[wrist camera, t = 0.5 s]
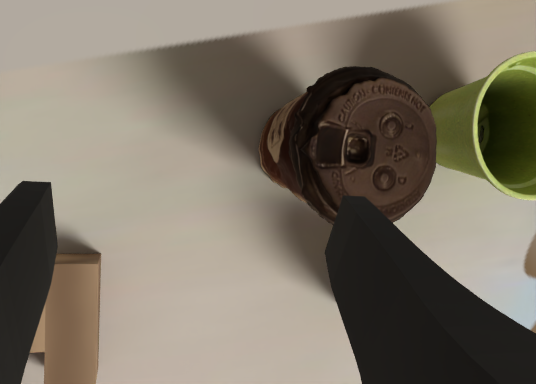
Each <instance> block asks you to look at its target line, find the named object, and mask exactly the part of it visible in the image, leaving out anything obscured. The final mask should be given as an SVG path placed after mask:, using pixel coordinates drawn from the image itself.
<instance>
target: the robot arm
mask: <svg viewBox="0 0 536 384" xmlns="http://www.w3.org/2000/svg"><path fill="white" fill-rule="evenodd" d="M57 247H58V245H57V236H56V227H55V217H54V208H53V199H52V189H51V182H32V181H22V182H21V183H20V184H18V185H17V186H16V188H15V189H14V190H13V191H12V192H11V193H10V194H9V195H8V196H7V197H6V198H5V199H4V200H3V201H2V203H1V204H0V384H21V381H22V377H23V373H24V369H25V366H26V363H27V360H28V356H29V353H30V350H31V347H32V344H33V341H34V337H35V334H36V331H37V328H38V325H39V322H40V318H41V315H42V312H43V309H44V306H45V302H46V299H47V296H48V293H49V289H50V286H51V282H52V276H53V271H54V265H55V259H56V253H57ZM325 255H326V261H327V267H328V272H329V277H330V282H331V287H332V290H333V293H334V296H335V299H336V302H337V305H338V308H339V311H340V314H341V317H342V320H343V323H344V326H345V329H346V332H347V335H348V338H349V341H350V344H351V347H352V350H353V353H354V356H355V359H356V362H357V365H358V369H359V372H360V376H361V381H362V384H536V333H534V332H532V331H531V330H529V329H527V328H525V327H524V326H522V325H520V324H519V323H517V322H515V321H514V320H512V319H511V318H509V317H508V316H506V315H504V314H503V313H501V312H500V311H498V310H496V309H495V308H493V307H492V306H491V305H489V304H488V303H486V302H485V301H483V300H482V299H480V298H479V297H478V296H476V295H475V294H474V293H472V292H471V291H470V290H468V289H467V288H465V287H464V286H463V285H461V284H460V283H459V282H458V281H456V280H455V279H454V278H452V277H451V276H450V275H449V274H448V273H446V272H445V271H444V270H443V269H442V268H441V267H439V266H438V265H437V264H436V263H435V262H433V261H432V260H431V259H430V258H429V257H428V256H427V255H426V254H424V253H423V252H422V251H421V250H420V249H419V248H418V247H417V246H416V245H415V244H414V243H413V242H412V241H410V240H409V239H408V238H407V237H406V236H405V235H404V234H403V233H402V232H401V231H400V230H399V229H398V228H397V227H396V226H395V225H394V224H393V223H392V222H391V221H390V220H389V219H388V218H387V217H386V216H385V215H384V214H383V213H382V212H381V211H380V210H379V209H378V208H377V207H376V206H375V205H374V204H373V203H371V202H370V201H369V200H368V199H367V198H366V197H365V196H344V195H343V197H342V200H341V203H340V206H339V209H338V212H337V216H336V219H335V222H334V225H333V228H332V231H331V234H330V238H329V241H328V244H327V247H326V250H325Z"/></svg>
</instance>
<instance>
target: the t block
mask: <svg viewBox="0 0 536 384" xmlns="http://www.w3.org/2000/svg"><path fill="white" fill-rule="evenodd" d="M100 274H101V254H56V259H55V265H54V271H53V276H52V282H51V286H50V289H49V293H48V296H47V299H46V302H45V306H44V309H43V312H42V315H41V318H40V322H39V325H38V328H37V331H36V334H35V337H34V341H33V344H32V347H31V350H30V353H35V352H45V363H44V384H96V378H97V371H98V351H99V312H100Z"/></svg>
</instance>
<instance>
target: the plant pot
mask: <svg viewBox="0 0 536 384" xmlns="http://www.w3.org/2000/svg"><path fill="white" fill-rule="evenodd" d="M430 109H431V113H432V115H433V117H434V121H435V124H436V136H437V145H436V162H437V163H438V164H440V165H441V166H444V167H446V168H450V169H453V170H457V171H460V172H463V173H466V174H469V175H473V176H476V177H479V178H482V179H486V180H487V181H489V182H490V183H491V184H492V185H493V186H494V187H495V188H497V189H498V190H499V191H501V192H503V193H504V194H506V195H509V196H511V197H514V198H518V199H523V200H536V51H531V52H526V53H522V54H518V55H515V56H513V57H511V58H509V59H507V60H505V61H504V62H502V63H501V64H500V65H498V66H497V67H496V68H495V69H494V70H493V71H492V72H491V73H490V74H489V75H488V76H487V77H485V78H483V79H480V80H478V81H475V82H473V83H471V84H468V85H466V86H463V87H460V88H458V89H455V90H453V91H450V92H448V93H445V94H443V95H442V96H440V97H439V98H438V99H437V100H436V101H435V102H434V103H433V104H432V105H430ZM481 126H482V127H483V128H484V134H483V140H482V142H481V143H479V142H478V140H479V136H480V131H481Z"/></svg>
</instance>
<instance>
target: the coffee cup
mask: <svg viewBox="0 0 536 384" xmlns="http://www.w3.org/2000/svg"><path fill="white" fill-rule="evenodd" d="M436 145H437V136H436V124H435V121H434V117H433V115H432V113H431V109H430V107H429V106H428V105H427V104H426V103H425V102H424V101H423V100H422V98H421V96H419V95H418V94H417V92H416V91H415V90H414V89H413V88H412V87H411V86H410V85H408V84H407V83H405V82H404V81H402V80H400V79H398V78H396V77H394V76H392V75H390V74H388V73H385V72H382V71H380V70H378V69H376V68H373V67H356V66H353V67H343V68H339V69H337V70H334V71H332V72H330V73H327V74H325V75H324V76H323V77H321V78H319V79H318V80H317V81H316V83H315V84H314V85H313V86H309V87H308V88H307V92H306V93H304V94H302V95H300V96H299V97H297V98H295V99H294V100H292V101H290V102H289V103H288V104H286V105H285V106H284V107H283V108H281V109H279V110H278V111H276V112H275V113H274V114H273V115H272V116H271V117H270V118H269V120H268V122H267V123H266V125H265V127H264V129H263V131H262V135H261V140H260V144H259V153H260V161H261V167H262V169H263V170H264V172H266V173H267V174H268V175H269V176H270V178H271V180H272V181H273V182H274V183H277V184H279V185H280V186H281V187H283V188H287V189H289V190H290V191H291V192H292V193H293V194H294V195H295V196H296V197H298V198H299V199H300V200H302V201H303V202H305V203H307V204H308V205H309V206H310V207H311V208H312V209H313V210H314V211H316V212H317V213H318V214H319V216H320V217H322V218H323V219H325V220H326V221H328V222H329V223H331V224H333V225H334V222H335V219H336V216H337V212H338V209H339V206H340V203H341V200H342V197H343V195H344V196H365V197H366V198H367V199H368V200H369V201H370V202H371V203H373V204H374V205H375V206H376V207H377V208H378V209H379V210H380V211H381V212H382V213H383V214H384V215H385V216H386V217H387V218H388V219H389V220H390V221H391V222H392V223H393V222H395V221H397V220H399V219H400V218H401V217H403V216H404V215H405V214H406V213H407V212H408V211H410V210H411V209H412V208H413V207H414V206H415V205H416V204H417V203H418V202H419V201H420V200H421V199H422V197H423V196H424V193H425V192H426V190H427V188H428V186H429V184H430V182H431V179H432V176H433V174H434V171H435V168H436Z"/></svg>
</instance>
